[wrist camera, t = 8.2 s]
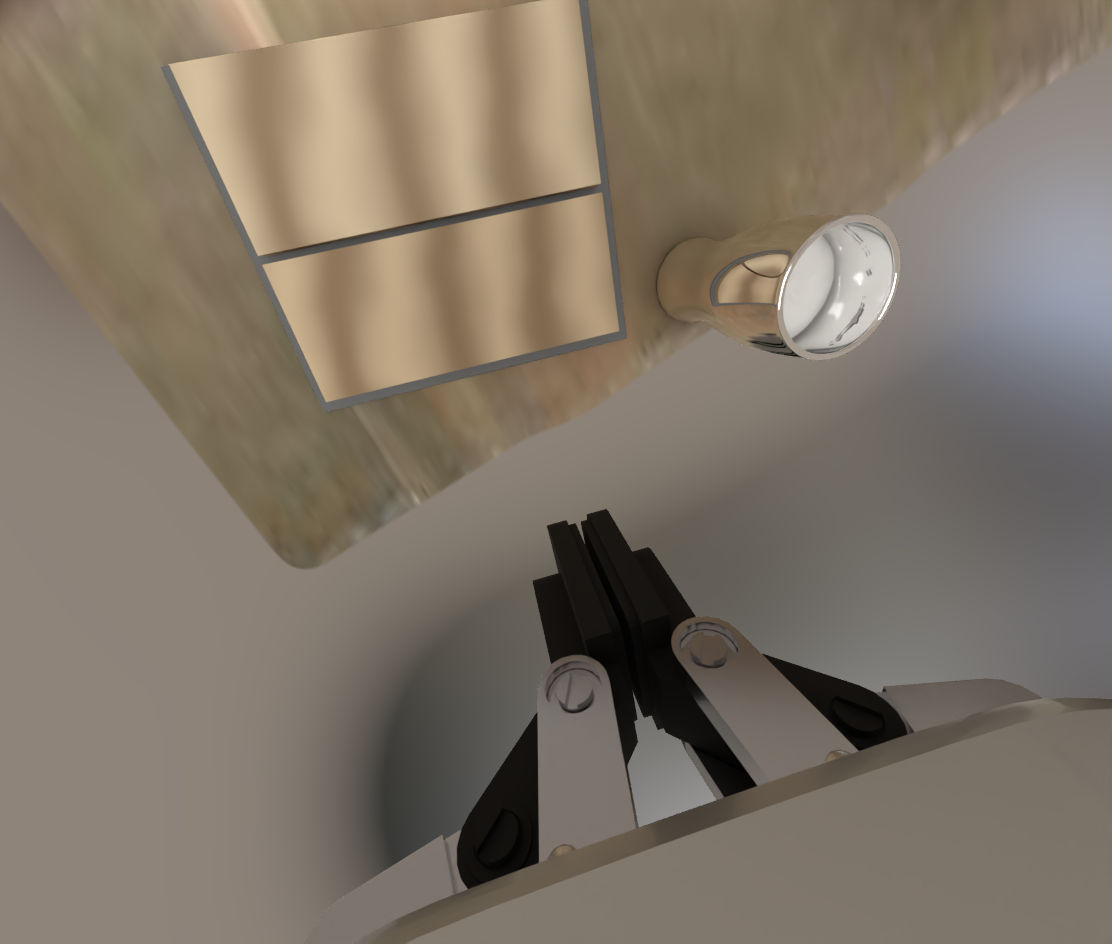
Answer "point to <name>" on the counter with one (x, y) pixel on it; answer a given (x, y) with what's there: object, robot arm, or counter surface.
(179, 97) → the underlay mat
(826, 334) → the beer glass
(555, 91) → the board
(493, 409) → the counter surface
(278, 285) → the loose plank
